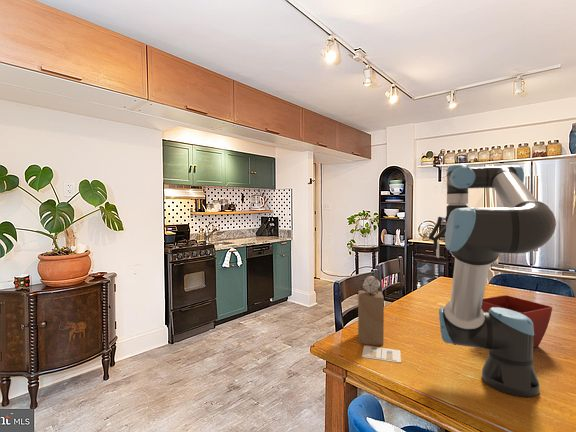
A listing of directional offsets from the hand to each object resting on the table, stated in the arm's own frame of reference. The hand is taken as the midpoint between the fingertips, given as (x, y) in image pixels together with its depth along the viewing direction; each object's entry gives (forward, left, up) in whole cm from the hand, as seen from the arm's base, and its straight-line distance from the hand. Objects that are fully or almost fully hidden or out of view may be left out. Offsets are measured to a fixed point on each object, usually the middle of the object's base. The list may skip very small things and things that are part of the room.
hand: (456, 258), depth 124 cm
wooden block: (-2, +33, -37) cm, 50 cm away
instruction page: (-14, +28, -37) cm, 48 cm away
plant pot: (+14, -24, -37) cm, 46 cm away
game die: (-2, +33, -17) cm, 37 cm away
